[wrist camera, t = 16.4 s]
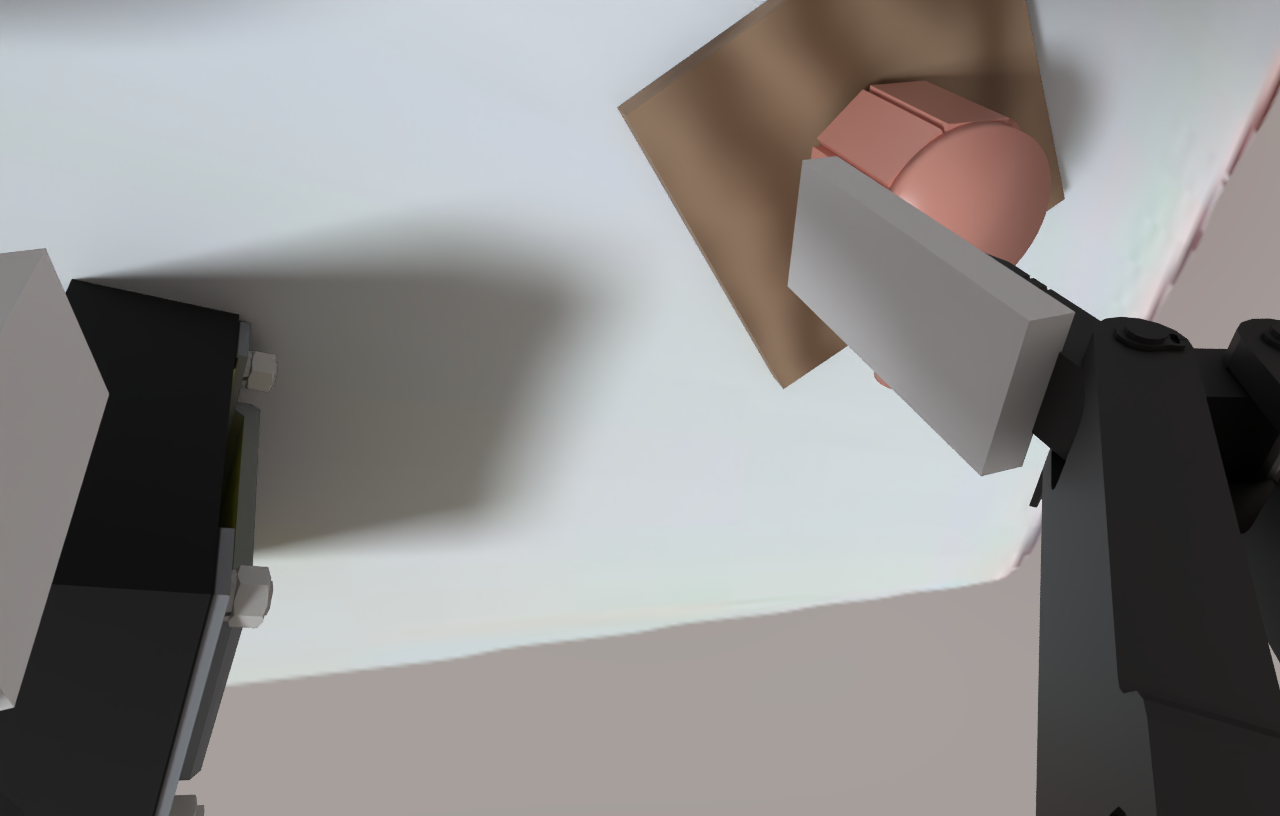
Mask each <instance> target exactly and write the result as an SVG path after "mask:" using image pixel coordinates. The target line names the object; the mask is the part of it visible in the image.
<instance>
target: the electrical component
mask: <svg viewBox="0 0 1280 816" xmlns="http://www.w3.org/2000/svg"><path fill="white" fill-rule="evenodd" d="M65 294H66V296H67V298H68V301H69V303H70V305H71V308H72V310H73V312H74V314H75V317H76V319H77V321H78V324H79V326H80V328H81V331H82V333H83V335H84V337H85V340H86V342H87V344H88V347H89V349H90V351H91V353H92V356H93V358H94V360H95V363H96V365H97V367H98V369H99V372H100V374H101V376H102V379H103V381H104V383H105V386H106V388H107V390H108V392H109V396H108V399H107V403H106V406H105V409H104V412H103V416H102V419H101V422H100V426H99V429H98V432H97V436H96V439H95V442H94V445H93V449H92V452H91V455H90V459H89V462H88V465H87V469H86V472H85V475H84V478H83V482H82V485H81V488H80V492H79V495H78V498H77V502H76V505H75V508H74V511H73V515H72V518H71V521H70V525H69V528H68V531H67V535H66V538H65V541H64V544H63V548H62V551H61V554H60V558H59V561H58V564H57V568H56V571H55V574H54V577H53V581H52V584H51V587H50V591H49V594H48V597H47V601H46V604H45V607H44V610H43V614H42V617H41V620H40V624H39V627H38V630H37V634H36V637H35V640H34V643H33V647H32V650H31V653H30V657H29V660H28V663H27V667H26V670H25V673H24V676H23V680H22V683H21V686H20V690H19V693H18V696H17V699H16V703H15V706H14V708H10V709H5V710H1V711H0V792H1V793H2V794H4V795H5V796H6V797H7V798H8V799H9V800H10V801H11V802H12V803H13V804H14V805H16V806H17V807H18V808H19V809H20V810H21V811H22V812H23V813H24V814H25V815H26V816H204V805H197V798H196V795H178V796H177V795H176V796H174V795H175V792H176V788H177V784H178V781H179V780H190V779H191V778H192V777H193V776H195V775H196V774H197V773H198V772H199V771H200V770H201V767H202V764H203V760H204V757H205V754H206V750H207V747H208V743H209V740H210V737H211V733H212V730H213V727H214V723H215V720H216V716H217V713H218V709H219V706H220V703H221V699H222V696H223V692H224V689H225V686H226V682H227V679H228V675H229V672H230V669H231V665H232V662H233V658H234V655H235V652H236V648H237V645H238V641H239V638H240V634H241V631H242V628H243V627H245V628H257V627H258V626H259V625H260V624H261V623H262V622H263V619H264V616H265V615H267V613H268V611H269V609H270V604H271V599H272V593H273V583H272V581H271V576H270V572H269V568H268V567H260V566H253V548H254V527H255V506H256V485H257V464H258V443H259V422H260V410H259V409H258V408H256V407H254V406H253V405H251V404H246V403H241V402H237V400H238V396H239V392H240V388H241V386H242V387H245V388H247V389H252V390H258V391H264V392H269V390H270V389H271V386H273V385H274V383H275V379H276V376H277V369H278V362H276V355H273V354H268V353H263V352H257V351H249V340H250V327H251V323H246V322H242V321H239V314H234V313H229V312H224V311H220V310H215V309H210V308H206V307H201V306H196V305H191V304H187V303H182V302H177V301H173V300H168V299H163V298H158V297H154V296H149V295H144V294H139V293H135V292H130V291H125V290H121V289H116V288H111V287H106V286H102V285H97V284H92V283H88V282H83V281H78V280H73V279H72V280H71V282H70V285H69V287H68V289H67V291H66V293H65Z"/></svg>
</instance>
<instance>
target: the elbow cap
mask: <svg viewBox="0 0 1280 816" xmlns="http://www.w3.org/2000/svg"><path fill="white" fill-rule="evenodd" d="M817 139H818V141H819V142H820V143H821V144H822V145H821V146H813V148H812V155H811V159H817V158H826V157H834V156H838V157H839V158H841V159H842V160H844V161H845V162H847V163H848V164H850V165H851V166H853V167H854V168H856V169H857V170H859V171H861V172H862V173H864V174H865V175H867V176H868V177H870V178H871V179H873V180H874V181H876V182H877V183H879V184H880V185H882V186H883V187H885V188H886V189H888V190H890V191H891V192H893V193H894V194H896V195H897V196H899V197H900V198H902V199H903V200H905V201H906V202H908V203H909V204H911V205H912V206H914V207H915V208H917V209H919V210H920V211H922V212H923V213H925V214H926V215H928V216H929V217H931V218H932V219H934V220H935V221H937V222H938V223H940V224H941V225H943V226H944V227H946V228H948V229H949V230H951V231H952V232H954V233H955V234H957V235H958V236H960V237H961V238H963V239H964V240H966V241H967V242H969V243H970V244H972V245H973V246H975V247H976V248H978V249H980V250H981V251H983V252H984V253H987V254H989V255H992V256H995V257H997V258H1000V259H1003V260H1005V261H1008V262H1010V263H1011V264H1013V265H1014V266H1015V265H1016V264H1017V263H1018V262H1019V260H1020V259H1021V258H1022V257H1023V255H1024V254H1025V253H1026V251H1027V250H1028V248H1029V247H1030V245H1031V244H1032V242H1033V240H1034V239H1035V237H1036V235H1037V233H1038V231H1039V229H1040V227H1041V225H1042V222H1043V220H1044V217H1045V214H1046V211H1047V207H1048V203H1049V198H1050V191H1051V175H1050V167H1049V164H1048V160H1047V157H1046V155H1045V153H1044V151H1043V149H1042V148H1041V147H1040V145H1039V144H1038V142H1036V141H1035V140H1034V139H1033V138H1032V137H1031V136H1029V135H1028V134H1026V133H1024V132H1022V131H1021V129H1020V128H1019V126H1018V124H1017V123H1016V121H1014V120H1012V119H1010V118H1008V117H1006V116H1004V115H1001V114H999V113H997V112H995V111H992V110H990V109H988V108H986V107H983V106H981V105H979V104H977V103H974V102H972V101H970V100H968V99H965V98H963V97H961V96H959V95H956V94H954V93H952V92H950V91H947V90H945V89H943V88H941V87H938V86H936V85H934V84H932V83H929V82H927V81H914V82H902V83H891V84H879V85H870V90H869V92H867V91H865V90H862V91H861V92H860V93H859V94H858V95H857V96H856V97H855V98H854V99H853V100H852V101H851V102H850V103H849V104H848V105H847V107H846V108H845V109H844V110H843V111H842V112H841V113H840V114H839V115H838V116H837V117H836V118H835V119H834V120H833V121H832V122H831V124H830V125H829V126H828V127H827V128H826V129H825V130H824V131H823V132H822V133H821V134H820V135H819V136H818V137H817ZM874 376H875V378H876V380H877V381H878V382H879V383H880V384H882V385H883V386H885V387H887V388H890V389H892V388H891V387H890V386H889V385H888V384H887V383H886V382H885V381H884V380H882V379H881V378H880V377H879V376H878V375H877V374H876V373H875V372H874Z"/></svg>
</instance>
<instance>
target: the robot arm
mask: <svg viewBox="0 0 1280 816" xmlns="http://www.w3.org/2000/svg"><path fill="white" fill-rule="evenodd" d="M788 287H789V288H790V289H791V290H792V291H793V292H794V293H795V294H796V295H797V296H798V297H799V298H800V299H801V300H802V301H803V302H804V303H805V304H806V305H807V306H808V307H809V308H810V309H811V310H812V311H813V312H814V313H815V314H816V315H817V316H818V317H819V318H820V319H821V320H822V321H823V322H824V323H825V324H826V325H828V326H829V327H830V328H831V329H832V330H833V331H834V332H835V333H836V334H837V335H838V336H839V337H840V338H841V339H842V340H843V341H844V342H845V343H846V344H847V345H848V346H849V347H850V348H851V349H852V350H853V351H854V352H855V353H856V354H857V355H858V356H859V357H860V358H861V359H862V360H863V361H864V362H865V363H866V364H867V365H868V366H869V367H870V368H871V369H872V370H873V371H874V372H875V373H876V374H877V375H878V376H879V377H880V378H881V379H882V380H884V381H885V382H886V383H887V384H888V385H889V386H890V387H891V388H892V389H893V390H894V391H895V392H896V393H897V394H898V395H899V396H900V397H901V398H902V399H903V400H904V401H905V402H906V403H907V404H908V405H909V406H910V407H911V408H912V409H913V410H914V411H915V412H916V413H917V414H918V415H919V416H920V417H921V418H922V419H923V420H924V421H925V422H926V423H927V424H928V425H929V426H930V427H931V428H932V429H933V430H934V431H935V432H936V433H937V434H938V435H940V436H941V437H942V438H943V439H944V440H945V441H946V442H947V443H948V444H949V445H950V446H951V447H952V448H953V449H954V450H955V451H956V452H957V453H958V454H959V455H960V456H961V457H962V458H963V459H964V460H965V461H966V462H967V463H968V464H969V465H970V466H971V467H972V468H973V469H974V470H975V471H976V472H977V473H978V474H979V475H980V476H984V475H988V474H992V473H996V472H1000V471H1005V470H1009V469H1013V468H1017V467H1021V466H1022V465H1023V462H1024V459H1025V456H1026V453H1027V450H1028V448H1029V445H1030V442H1031V439H1032V436H1033V434H1034V435H1035V436H1037V437H1038V438H1039V439H1040V440H1041V441H1042V442H1044V443H1045V444H1046V445H1047V446H1048V447H1049V448H1050V450H1049V453H1048V456H1047V459H1046V461H1045V464H1044V467H1043V470H1042V472H1041V475H1040V478H1039V481H1038V483H1037V486H1036V489H1035V491H1034V494H1033V497H1032V500H1031V502H1030V505H1029V506H1032V507H1037V506H1038V504H1039V502H1040V500H1041V499H1042V536H1041V587H1040V591H1041V592H1040V637H1039V638H1040V640H1039V641H1040V642H1039V689H1038V690H1039V691H1038V740H1037V788H1036V789H1037V791H1036V816H1280V689H1279V684H1278V681H1277V676H1276V672H1275V669H1274V665H1273V661H1272V657H1271V653H1270V649H1269V645H1270V646H1271V648H1272V650H1273V652H1274V653H1275V655H1276V657H1277V658H1278V660H1279V662H1280V320H1274V319H1251V320H1248V321H1245V322H1242V323H1241V324H1240V325H1239V327H1238V328H1237V330H1236V332H1235V334H1234V336H1233V338H1232V341H1231V343H1230V345H1229V347H1228V349H1196V348H1193V347H1192V345H1191V344H1190V342H1189V340H1188V339H1187V338H1185V337H1184V336H1182V335H1181V334H1179V333H1178V332H1177V331H1175V330H1173V329H1171V328H1168V327H1166V326H1164V325H1161V324H1159V323H1155V322H1151V321H1147V320H1143V319H1139V318H1128V317H1116V318H1107V319H1104V320H1102V321H1100V320H1098V319H1096V318H1095V317H1093V316H1092V315H1090V314H1089V313H1087V312H1086V311H1084V310H1083V309H1081V308H1079V307H1078V306H1076V305H1075V304H1073V303H1072V302H1070V301H1069V300H1067V299H1065V298H1064V297H1062V296H1061V295H1059V294H1058V293H1056V292H1055V291H1053V290H1052V289H1050V290H1047V286H1045V285H1044V284H1042V283H1041V282H1039V281H1038V280H1036V279H1035V278H1031V279H1030V275H1028V274H1027V273H1025V272H1024V271H1022V270H1021V269H1019V268H1018V267H1016V266H1014V265H1013V264H1011V263H1010V262H1008V261H1005V260H1003V259H1000V258H997V257H995V256H992V255H989V254H987V253H984V252H983V251H981V250H980V249H978V248H976V247H975V246H973V245H972V244H970V243H969V242H967V241H966V240H964V239H963V238H961V237H960V236H958V235H957V234H955V233H954V232H952V231H951V230H949V229H948V228H946V227H944V226H943V225H941V224H940V223H938V222H937V221H935V220H934V219H932V218H931V217H929V216H928V215H926V214H925V213H923V212H922V211H920V210H919V209H917V208H915V207H914V206H912V205H911V204H909V203H908V202H906V201H905V200H903V199H902V198H900V197H899V196H897V195H896V194H894V193H893V192H891V191H890V190H888V189H886V188H885V187H883V186H882V185H880V184H879V183H877V182H876V181H874V180H873V179H871V178H870V177H868V176H867V175H865V174H864V173H862V172H861V171H859V170H857V169H856V168H854V167H853V166H851V165H850V164H848V163H847V162H845V161H844V160H842V159H841V158H839V157H838V156H834V157H826V158H817V159H809V160H802V169H801V177H800V185H799V194H798V202H797V211H796V219H795V227H794V236H793V244H792V253H791V261H790V269H789V278H788ZM108 396H109V392H108V390H107V388H106V386H105V383H104V381H103V379H102V376H101V374H100V372H99V369H98V367H97V365H96V363H95V360H94V358H93V356H92V353H91V351H90V349H89V347H88V344H87V342H86V340H85V337H84V335H83V333H82V331H81V328H80V326H79V324H78V321H77V319H76V317H75V314H74V312H73V310H72V308H71V305H70V303H69V301H68V298H67V296H66V294H65V292H64V289H63V287H62V285H61V282H60V280H59V278H58V276H57V273H56V271H55V269H54V266H53V264H52V262H51V259H50V257H49V255H48V253H47V250H46V248H44V249H35V250H27V251H18V252H10V253H1V254H0V711H1V710H5V709H10V708H14V706H15V703H16V699H17V696H18V693H19V690H20V686H21V683H22V680H23V676H24V673H25V670H26V667H27V663H28V660H29V657H30V653H31V650H32V647H33V643H34V640H35V637H36V634H37V630H38V627H39V624H40V620H41V617H42V614H43V610H44V607H45V604H46V601H47V597H48V594H49V591H50V587H51V584H52V581H53V577H54V574H55V571H56V568H57V564H58V561H59V558H60V554H61V551H62V548H63V544H64V541H65V538H66V535H67V531H68V528H69V525H70V521H71V518H72V515H73V511H74V508H75V505H76V502H77V498H78V495H79V492H80V488H81V485H82V482H83V478H84V475H85V472H86V469H87V465H88V462H89V459H90V455H91V452H92V449H93V445H94V442H95V439H96V436H97V432H98V429H99V426H100V422H101V419H102V416H103V412H104V409H105V406H106V403H107V399H108ZM1268 643H1269V645H1268ZM0 816H26V815H25V814H24V813H23V812H22V811H21V810H20V809H19V808H18V807H17V806H16V805H14V804H13V803H12V802H11V801H10V800H9V799H8V798H7V797H6V796H5V795H4V794H2V793H1V792H0Z"/></svg>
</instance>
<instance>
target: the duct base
mask: <svg viewBox="0 0 1280 816" xmlns="http://www.w3.org/2000/svg"><path fill="white" fill-rule="evenodd" d="M914 81H927V82H929V83H932V84H934V85H936V86H938V87H941V88H943V89H945V90H947V91H950V92H952V93H954V94H956V95H959V96H961V97H963V98H965V99H968V100H970V101H972V102H974V103H977V104H979V105H981V106H983V107H986V108H988V109H990V110H992V111H995V112H997V113H999V114H1001V115H1004V116H1006V117H1008V118H1010V119H1012V120H1014V121H1016V123H1017V124H1018V126H1019V128H1020V129H1021V131H1022V132H1024V133H1026V134H1028V135H1029V136H1031V137H1032V138H1033V139H1034V140H1035V141H1036V142H1038V144H1039V145H1040V147H1041V148H1042V149H1043V151H1044V153H1045V155H1046V157H1047V160H1048V164H1049V167H1050V175H1051V191H1050V198H1049V203H1048V207H1047V211H1048V210H1049V209H1051V208H1052V207H1054V206H1055V205H1057V204H1058V203H1060V202H1061V201H1063V200H1064V199H1065V198H1064V192H1063V187H1062V182H1061V177H1060V172H1059V167H1058V162H1057V157H1056V152H1055V147H1054V142H1053V137H1052V132H1051V126H1050V121H1049V116H1048V111H1047V106H1046V101H1045V96H1044V91H1043V86H1042V81H1041V76H1040V71H1039V66H1038V60H1037V55H1036V50H1035V45H1034V40H1033V35H1032V30H1031V25H1030V20H1029V15H1028V10H1027V5H1026V0H767V1H766V2H765V3H763V4H762V5H760V6H759V7H758V8H756V9H755V10H753V11H752V12H751V13H749V14H748V15H746V16H745V17H744V18H742V19H741V20H739V21H738V22H737V23H735V24H734V25H732V26H731V27H730V28H728V29H727V30H725V31H724V32H723V33H721V34H720V35H718V36H717V37H716V38H714V39H713V40H711V41H710V42H708V43H707V44H706V45H704V46H703V47H701V48H700V49H699V50H697V51H696V52H694V53H693V54H692V55H690V56H689V57H687V58H686V59H685V60H683V61H682V62H680V63H679V64H678V65H676V66H675V67H673V68H672V69H671V70H669V71H668V72H666V73H665V74H664V75H662V76H661V77H659V78H658V79H657V80H655V81H654V82H652V83H651V84H650V85H648V86H647V87H645V88H644V89H643V90H641V91H640V92H638V93H637V94H636V95H634V96H633V97H631V98H630V99H629V100H627V101H626V102H624V103H623V104H621V105H620V106H619V107H617V108H618V110H619V111H620V113H621V115H622V116H623V118H624V120H625V122H626V123H627V125H628V127H629V128H630V130H631V132H632V134H633V135H634V137H635V139H636V141H637V142H638V144H639V146H640V147H641V149H642V151H643V153H644V154H645V156H646V158H647V160H648V161H649V163H650V165H651V166H652V168H653V170H654V172H655V173H656V175H657V177H658V178H659V180H660V182H661V184H662V185H663V187H664V189H665V191H666V192H667V194H668V196H669V197H670V199H671V201H672V203H673V204H674V206H675V208H676V209H677V211H678V213H679V215H680V216H681V218H682V220H683V222H684V223H685V225H686V227H687V228H688V230H689V232H690V234H691V235H692V237H693V239H694V241H695V242H696V244H697V246H698V247H699V249H700V251H701V253H702V254H703V256H704V258H705V259H706V261H707V263H708V265H709V266H710V268H711V270H712V272H713V273H714V275H715V277H716V278H717V280H718V282H719V284H720V285H721V287H722V289H723V291H724V292H725V294H726V296H727V297H728V299H729V301H730V303H731V304H732V306H733V308H734V309H735V311H736V313H737V315H738V316H739V318H740V320H741V322H742V323H743V325H744V327H745V328H746V330H747V332H748V334H749V335H750V337H751V339H752V341H753V342H754V344H755V346H756V347H757V349H758V351H759V353H760V354H761V356H762V358H763V359H764V361H765V363H766V365H767V366H768V368H769V370H770V372H771V373H772V375H773V377H774V378H775V379H776V380H777V382H778V383H779V384H780V385H781V386H782V388H783V389H784V388H786V387H787V386H789V385H790V384H792V383H793V382H795V381H796V380H798V379H799V378H801V377H802V376H804V375H805V374H807V373H808V372H810V371H811V370H812V369H814V368H815V367H817V366H818V365H820V364H821V363H823V362H824V361H826V360H827V359H829V358H830V357H832V356H833V355H835V354H836V353H838V352H839V351H841V350H842V349H844V348H845V347H847V346H848V345H847V344H846V343H845V342H844V341H843V340H842V339H841V338H840V337H839V336H838V335H837V334H836V333H835V332H834V331H833V330H832V329H831V328H830V327H829V326H828V325H826V324H825V323H824V322H823V321H822V320H821V319H820V318H819V317H818V316H817V315H816V314H815V313H814V312H813V311H812V310H811V309H810V308H809V307H808V306H807V305H806V304H805V303H804V302H803V301H802V300H801V299H800V298H799V297H798V296H797V295H796V294H795V293H794V292H793V291H792V290H791V289H790V288H789V287H788V278H789V269H790V261H791V253H792V244H793V236H794V227H795V219H796V211H797V202H798V194H799V185H800V177H801V169H802V160H809V159H811V155H812V148H813V146H821V145H822V144H821V143H820V142H819V141H818V139H817V137H818V136H819V135H820V134H821V133H822V132H823V131H824V130H825V129H826V128H827V127H828V126H829V125H830V124H831V122H832V121H833V120H834V119H835V118H836V117H837V116H838V115H839V114H840V113H841V112H842V111H843V110H844V109H845V108H846V107H847V105H848V104H849V103H850V102H851V101H852V100H853V99H854V98H855V97H856V96H857V95H858V94H859V93H860V92H861V91H862V90H865V91H867V92H869V90H870V85H879V84H891V83H902V82H914Z"/></svg>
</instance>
